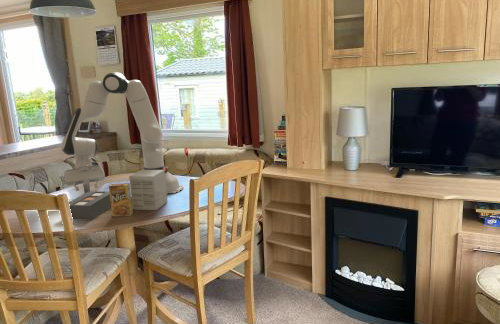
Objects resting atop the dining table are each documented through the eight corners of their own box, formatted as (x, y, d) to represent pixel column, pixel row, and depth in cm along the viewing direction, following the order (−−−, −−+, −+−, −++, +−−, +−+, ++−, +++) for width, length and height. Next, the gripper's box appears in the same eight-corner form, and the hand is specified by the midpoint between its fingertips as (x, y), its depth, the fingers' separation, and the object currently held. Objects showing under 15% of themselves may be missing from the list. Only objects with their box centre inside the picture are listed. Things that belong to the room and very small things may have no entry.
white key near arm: (105, 198, 200) (104, 193, 200) (99, 202, 195) (99, 196, 195) (96, 198, 201) (95, 193, 201) (90, 201, 196) (89, 196, 196)
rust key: (98, 203, 194) (97, 197, 193) (92, 206, 189) (91, 200, 188) (88, 203, 194) (87, 197, 194) (82, 206, 189) (81, 200, 189)
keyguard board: (115, 204, 202) (113, 191, 200) (91, 219, 181) (89, 205, 179) (90, 204, 204) (89, 191, 202) (64, 219, 183) (62, 205, 181)
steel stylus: (91, 199, 213) (88, 178, 210) (91, 200, 210) (88, 179, 207) (85, 200, 211) (82, 178, 209) (85, 201, 209) (82, 180, 206)
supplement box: (144, 201, 205) (141, 169, 201) (167, 201, 202) (164, 169, 198) (132, 209, 193) (128, 175, 189) (156, 210, 190) (153, 176, 186)
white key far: (90, 207, 187) (89, 201, 186) (84, 211, 182) (83, 205, 181) (80, 207, 188) (79, 201, 187) (74, 211, 183) (73, 205, 182)
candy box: (112, 217, 183) (108, 186, 180) (115, 213, 187) (111, 183, 184) (130, 216, 183) (127, 185, 180) (133, 213, 187) (129, 182, 184)
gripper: (63, 167, 209) (65, 188, 202) (103, 162, 217) (106, 183, 210) (64, 173, 214) (66, 194, 207) (103, 168, 222) (106, 188, 215)
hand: (86, 188), depth 209 cm, fingers open, 8 cm apart
